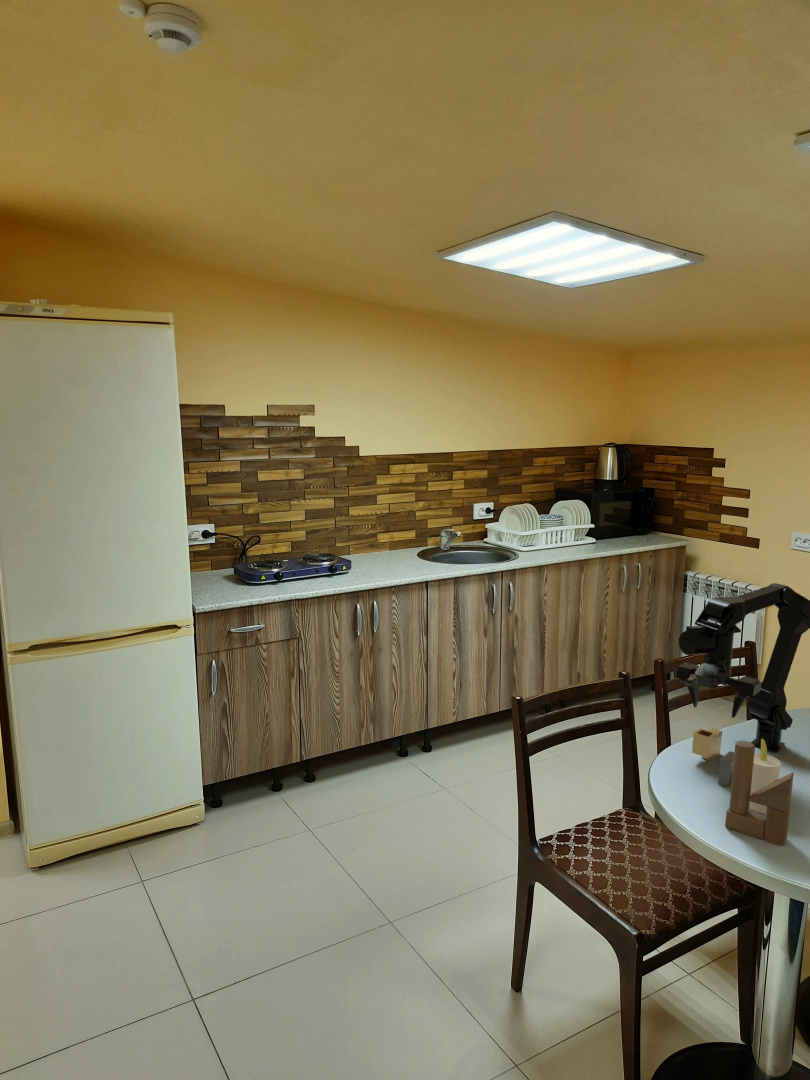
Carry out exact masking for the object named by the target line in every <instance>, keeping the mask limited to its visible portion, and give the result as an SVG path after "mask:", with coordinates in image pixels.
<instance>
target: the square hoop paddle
mask: <svg viewBox="0 0 810 1080" xmlns="http://www.w3.org/2000/svg"><path fill="white" fill-rule="evenodd" d="M722 736H723V730H719V729H716V728H711V729H710V730H707V729H703V728H699V729H697V730H696V731H694V732H693V736H692V737H693V738H692V749H691V753H692V754H694V755H698V756H701V759H703V760H706V761H707V760H708V762H709V761H710V762H712V761H713V760H715V759H716V758H718V756H719V755H721V750H722V749H721V747H722V738H723V737H722ZM714 758H715V759H714Z"/></svg>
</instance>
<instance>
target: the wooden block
mask: <svg viewBox="0 0 810 1080" xmlns="http://www.w3.org/2000/svg"><path fill="white" fill-rule="evenodd" d="M735 742H736V743H734V752H735V753H734V764H733V774H732V785H731V786H730V798H729V808H728V809H727V810H726V813H725V823H724V824H725V828H727V829H729V830H732V831H736V832H740V833H741V834H745V835H747V836H751V837H754V838H757V839H759V840H764V841H765V842H768V843H770V844H774V845H778V846H780V847H784V846H785V843H786V841H787V839H788V831H789V822H790V811H791V807H790V806H791V801H792V792H793V791H792V790H793V782H794V772H793V771H792V772H791V773H788V774H786V775H784V776H783V777H780V778H779V780H777V781H775V782H773V783H771V784H769V785H767V786H765V787H763V788H761V789H759V790H758V791H756V792H754V793H752V794H751V783H752V773H753V763H754V754H755V753H756V752H755V750H756V746H754V744H752V743H751V741H747V740H738V741H735ZM750 794H751V796H750ZM750 802H754V803H757V804H760V805H764V806H767V811H766V814H765V817H764V816H762V814H761V813H758V812H755V811H753V810H750V809H749V804H750Z"/></svg>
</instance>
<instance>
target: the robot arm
mask: <svg viewBox="0 0 810 1080" xmlns="http://www.w3.org/2000/svg"><path fill="white" fill-rule="evenodd" d="M771 606H774V607H776V608H777V609H778V610H777V615H776V616H777V621H778V624H779V630H778V634H777V637H776V641H775V643H774V646H773V650H772V652H771V656H770V658H769V662H768V664H767V667H766V671H765V673H764V677H763V680H762V682H761V681H760V679H758V678H753V677H750V676H745V675H743V676H742V677H740V678H739V679H738V678H735V677H731V676H732V674H733V670H732V660H734V654H733V647H734V634H738V633H741V632H742V629H740V628H739V627H738V626H737V625H738V624H739V623H741V622H743V621H744V620H745V618H746V616H747V615H749V614H752V613H755V612H757V611H760V610H763V609H766V608H769V607H771ZM808 630H810V599H808V598H806V597H805V596H803V595H802V594H800V593H799V592H796V591H795V590H794V589H792V588H791V587H790V586H788V585H785V584H781V583H776V582H775V583H770V584H768V585H767V586H765V587H761V588H758V589H756V590H755V589H754V590H752V591H750V592H747V593H744V594H743V593H742V594H740V595H738V596H718V597H712V598H710V599H708V601H707V603H706V605H705V606H704V607H703V609H702V611H701V612H700V613H699V615H698V617H697V619H696V620H695V622H694V626H693V625H687V626H686V627H685V630H684V631H683V632H682V633H680V635H679V637H678V646H679V649H680V651H681V652H682V653H683V654H684V655H686V656H694V655H703V654H704V655H703V656H704V657H703V660H702V663H701V664H700V665H698V664H694V663H691V662H690V663H689V662H684V663H683V662H682V663H681V664H679V665H678V666H677V667H676V668H675V669H674V677H675V678H677V679H679V681H680V682H681V683H682V684H683V683H684V685H685V686H686V688H687V690H688V691H689V694H690V699H691V702H692V705H693V708H697V707H698V704H699V698H700V697H699V696H700V695H699V693H700V687H701V686H702V687H705V688H708V689H711V690H713V689H714V690H715V689H717V688H718V685H722V686H731V687H733V688H735V689H734V690H735V691H736V692H733V697H734V699H733V705H732V711H731V718H732V719H733V718H734V719H735V717H736V716H737V715H738V713H739V710H740V709H741V707H742V705H743V703H744V701H745V700H746V702H747V703H746V708H747V709H748V712H749V717H750V718H751V719H754V720H756V722H757V723H756V724H757V725H756V734H755V738H754V739H753V740H752V741H750V743H752V744H754V746H755V747H758V748H760V749H761V740H762V739H764V741H765V743H766V747H767V751H770V752H774V753H779V751H780V750H782V749H783V747H785V745H786V743H785V742H783V741H782V733H783V731H787V730H788V729H789V728H791V726H792V724H793V722H794V721H793V718H792V716H790V714H789V712H787V710H786V708H787V703H788V702H787V701H788V699H787V696H786V692H785V687H786V683H787V679H788V677H789V674H790V671H791V668H792V665H793V662H794V659H795V656H796V652H797V650H798V647H799V643H800V641H801V638H802V635H804V634H805V633H806V632H807V631H808Z"/></svg>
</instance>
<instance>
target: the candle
mask: <svg viewBox="0 0 810 1080" xmlns="http://www.w3.org/2000/svg"><path fill="white" fill-rule="evenodd" d="M781 764H782V763H781V761H780V760H779V759H777V758H776V757H774V756H772V755H769V754H768V750H767V747H766V743H765V741H764V739H762V740H761V748H760V753H756V752H755V753H754V763H753V773H752V783H751V794H752V793H754V792H756V791H758V790H759V789H761V788H763V787H765V786H767V785H769V784H771V783H773V782H775V781H777V780H779V779H780V771H781ZM751 794H750V796H751ZM749 811H752V812H756V813H759V814H765V815H766V811H767V806H764V805H760V804H757V803H754V802H750V804H749Z"/></svg>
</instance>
